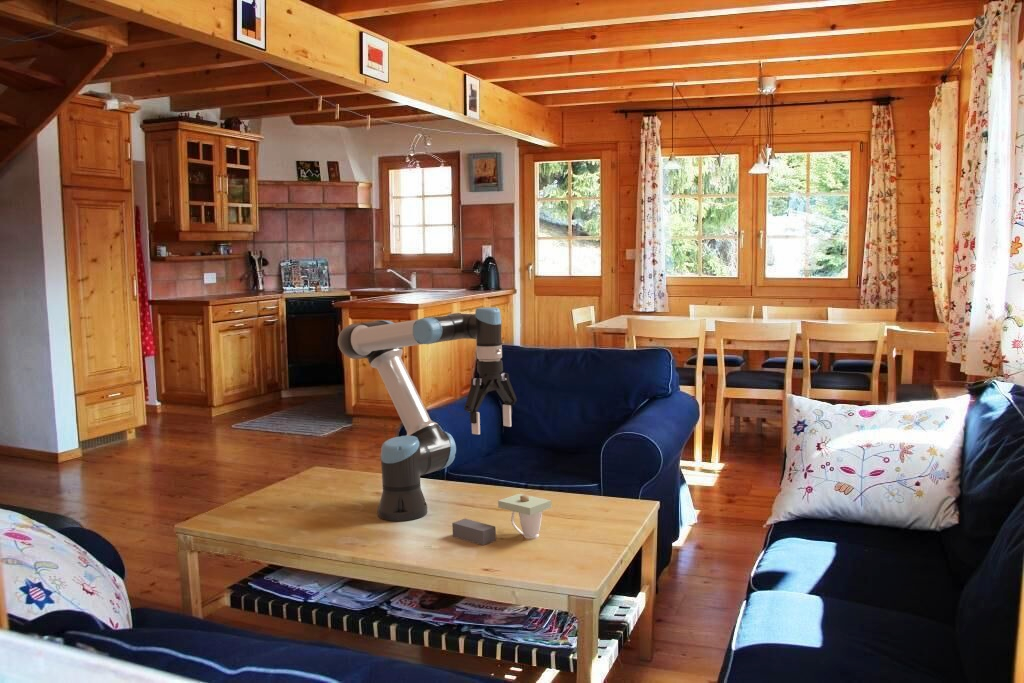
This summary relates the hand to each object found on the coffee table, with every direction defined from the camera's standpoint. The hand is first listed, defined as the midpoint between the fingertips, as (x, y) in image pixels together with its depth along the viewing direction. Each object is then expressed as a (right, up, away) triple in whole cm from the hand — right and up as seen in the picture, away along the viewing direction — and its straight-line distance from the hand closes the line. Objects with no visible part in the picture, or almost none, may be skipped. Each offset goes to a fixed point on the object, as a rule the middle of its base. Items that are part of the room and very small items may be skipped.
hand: (492, 430), depth 260 cm
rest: (-5, -29, -16) cm, 33 cm away
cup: (+10, -28, -15) cm, 34 cm away
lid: (+10, -20, -16) cm, 27 cm away
